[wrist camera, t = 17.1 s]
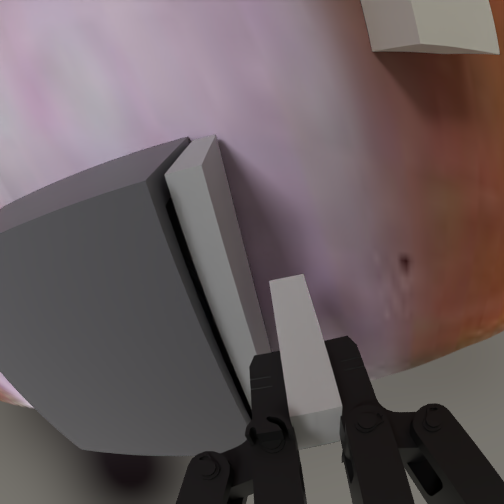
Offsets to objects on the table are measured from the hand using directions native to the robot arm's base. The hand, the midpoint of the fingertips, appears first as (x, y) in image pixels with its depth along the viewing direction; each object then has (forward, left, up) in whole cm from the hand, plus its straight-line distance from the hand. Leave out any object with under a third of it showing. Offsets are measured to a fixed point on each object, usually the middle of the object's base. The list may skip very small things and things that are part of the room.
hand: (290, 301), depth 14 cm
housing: (+1, -10, -5) cm, 12 cm away
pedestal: (-13, +10, -5) cm, 17 cm away
